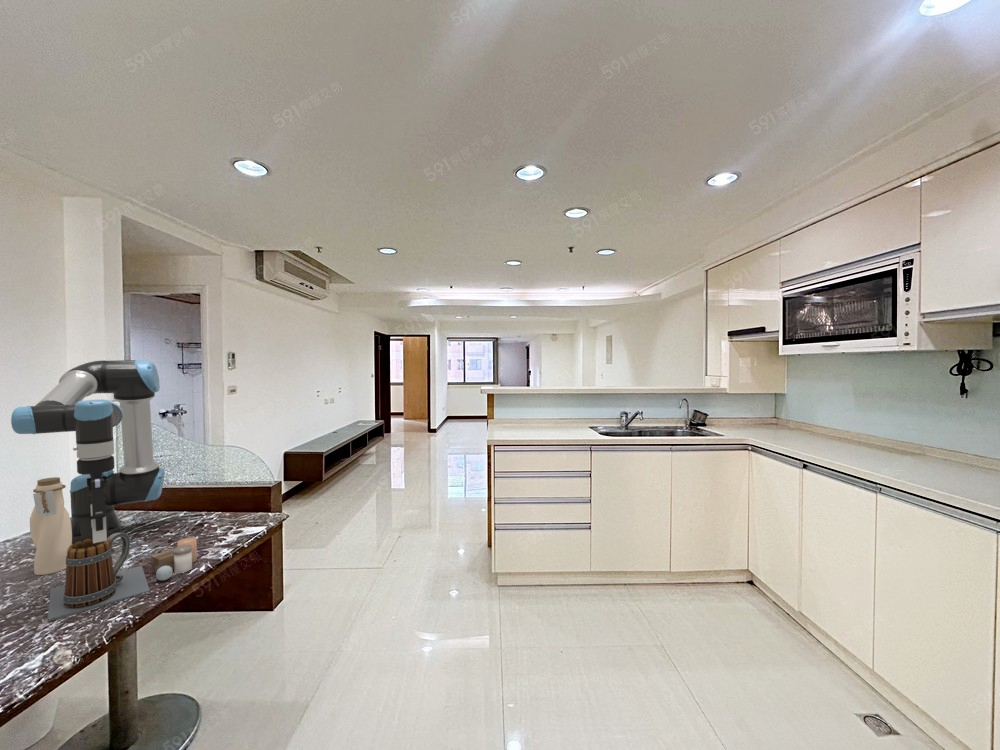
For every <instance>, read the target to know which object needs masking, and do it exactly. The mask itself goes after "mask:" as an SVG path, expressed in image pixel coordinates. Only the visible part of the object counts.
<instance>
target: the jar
mask: <svg viewBox="0 0 1000 750" xmlns="http://www.w3.org/2000/svg"><path fill="white" fill-rule="evenodd" d="M172 551H173V554H174V571H173V572H175V573H183V572H187V571H189V570H191V569H192V570H193V563H192V546H191V545H183V546H179V547H175V548H173V549H172ZM192 570H191V571H192ZM189 572H190V571H189ZM175 573H174V574H175ZM187 573H188V572H187ZM183 574H184V573H183Z"/></svg>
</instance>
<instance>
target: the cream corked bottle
mask: <svg viewBox="0 0 1000 750" xmlns="http://www.w3.org/2000/svg"><path fill="white" fill-rule="evenodd" d="M36 482H37V484H36V485H35V488H34V489H32V492H33V495H32V496H33V500H34V502H33V503H34V507H33V509H32V511H31V514H30V517H29V533H30V536H31V539H32V542H33V544H34V547H35V549H36V550H35V553H34V557H33V560H34V561H33V565H34V567H33V568H34V569H33V571H34V572H33V574H34V575H36V576H46V575H51V574H55V573H58V572H61V571H63V570H66V556H67V550H68V548H69V546H70V545H72V528H71V517H70V516H71V515H70V513H69V511H68V510H67V509H66V507H65V500H64V493H63V490H64V489H66V485H65V484H63V483H62V481H61V477H57V476H56V477H55V476H54V477H48V478H41V479H38V480H37V481H36Z"/></svg>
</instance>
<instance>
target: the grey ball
mask: <svg viewBox="0 0 1000 750" xmlns="http://www.w3.org/2000/svg"><path fill="white" fill-rule="evenodd" d="M173 572H174V571H173V570H172V568H171V567H170V566H162V567H160V568H159V569H158V570H157V572H156V574H155V577H156V579H157V580H159V581H161V582H162V581H167V580H168V579H170V578H171V577H172V575H173Z"/></svg>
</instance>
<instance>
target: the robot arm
mask: <svg viewBox="0 0 1000 750" xmlns="http://www.w3.org/2000/svg"><path fill="white" fill-rule="evenodd" d="M156 367H157V366H156V365H155V363H154V362H152V361H150V360H139V359H134V360H133V359H132V360H131V359H130V360H129V359H128V360H127V359H126V360H124V359H123V360H119V359H118V360H103V359H102V360H94V361H88V362H85V363H83V364H80V365H78V366H75V367H72V368H71V369H69V370H67V371H66V372H65V373H63V374H62V375H61V376H60V378H59V380H58V384H57V385H56V386H55V387H53V389H51V391H49V392H48V393H47V394H46V395H45V396H44V397H43V398H42V399H41V400H40V401H38V402H37V404H35V405H27V406H26V405H25V406H18V407H16V408H15V409H14V410H13V411H12V414H11V417H10V422H11V423H10V424H11V428H12V430H13V431H14V433H16V434H19V435H37V434H39V435H40V434H53V433H55V434H56V433H65V432H66V433H67V432H75V444H76V446H74V447H73V448H72V451H76V458H78V459H77V460H76V472H77V474H79V475H77V476H75V477H74V478H72V480H71V481H70V489H69V493H70V494H69V495H70V512H71V515H70V516H71V517H70V520H71V528H72V544H75V543H76V542H79V541H81V542H83V540H86V539H91V540H92V539H93V543H98V542H102V541H107V539H108V537H109V536H111V535H112V534H115V533H122V524H121V522H120V519H119V518H118V515H117V513H116V510H115V506H116V505H118V506H119V505H125V504H135V503H143V502H144V503H146V502H148V501H155V500H158V499H159V498H160V497H161V495H162V491H163V487H164V482H165V481H164V480H165V468H160V466H159V463H158V462H157V461H155V460H154V448H153V446H154V445H153V431H152V415H151V414H152V413H151V400H152V399H154V398H155V396H156V394H155V393H157V392H159V391H160V387H161V386H160V385H161V384H160V377H159V373H158V369H157V368H156ZM93 394H94V395H95V394H113V400H115V401H116V402H117V403H119V404H117V403H115V402H112V401H111V400H108V399H87V400H86V397H89V396H92V395H93ZM84 399H85V400H84ZM120 423H121V424H120ZM119 424H120V425H121V436H122V438H121V440H122V451H123V465H122V466H121V467H120V468H119V469H118V472H115V471H114V469H115V456H113V455H114V454H115V442H114V432H113V431H114V428H115V427H117V426H118V425H119Z"/></svg>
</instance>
